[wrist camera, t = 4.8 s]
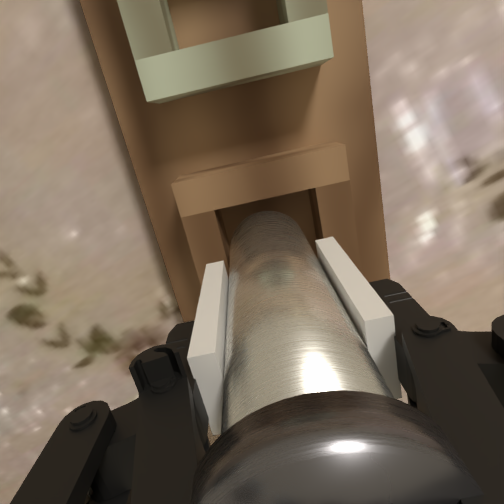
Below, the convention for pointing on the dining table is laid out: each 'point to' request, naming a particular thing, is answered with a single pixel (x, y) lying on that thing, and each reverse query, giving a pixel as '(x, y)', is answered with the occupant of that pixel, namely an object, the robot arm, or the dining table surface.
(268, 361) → the lock pin
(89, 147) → the dining table surface
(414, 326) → the robot arm
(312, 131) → the socket board
